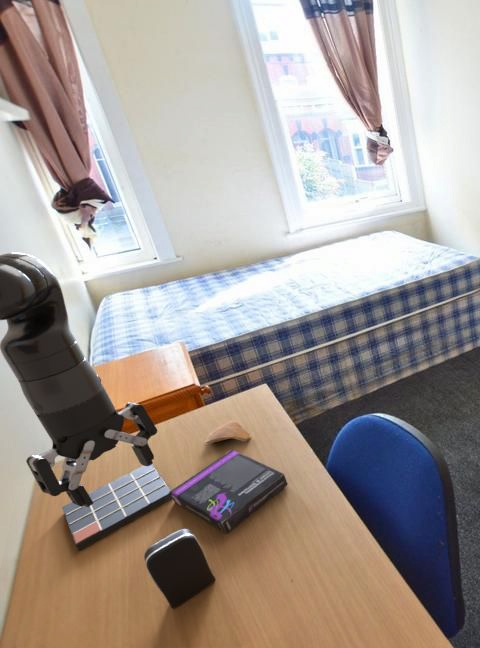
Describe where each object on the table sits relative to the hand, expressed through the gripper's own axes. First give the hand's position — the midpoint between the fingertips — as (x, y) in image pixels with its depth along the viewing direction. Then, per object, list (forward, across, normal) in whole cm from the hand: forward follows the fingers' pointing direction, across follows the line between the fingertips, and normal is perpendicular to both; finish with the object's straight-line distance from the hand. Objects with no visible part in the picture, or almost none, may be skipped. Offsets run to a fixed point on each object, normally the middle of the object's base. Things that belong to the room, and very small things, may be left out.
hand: (118, 483), depth 72 cm
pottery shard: (+22, -32, -27) cm, 48 cm away
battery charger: (+22, 0, +5) cm, 23 cm away
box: (+22, -18, -8) cm, 30 cm away
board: (+22, -8, -30) cm, 39 cm away
